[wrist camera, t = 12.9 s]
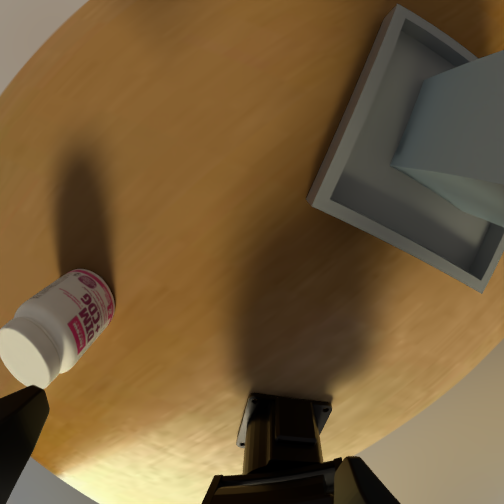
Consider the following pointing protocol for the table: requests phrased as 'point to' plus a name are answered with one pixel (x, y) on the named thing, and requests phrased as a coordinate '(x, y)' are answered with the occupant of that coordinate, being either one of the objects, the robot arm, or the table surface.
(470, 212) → the slim crate
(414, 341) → the table surface
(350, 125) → the shallow crate
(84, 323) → the pill bottle
